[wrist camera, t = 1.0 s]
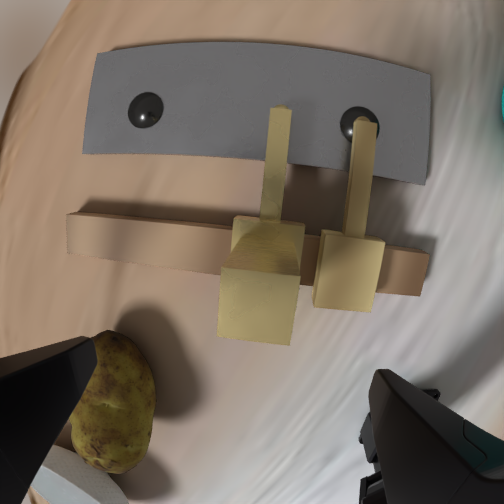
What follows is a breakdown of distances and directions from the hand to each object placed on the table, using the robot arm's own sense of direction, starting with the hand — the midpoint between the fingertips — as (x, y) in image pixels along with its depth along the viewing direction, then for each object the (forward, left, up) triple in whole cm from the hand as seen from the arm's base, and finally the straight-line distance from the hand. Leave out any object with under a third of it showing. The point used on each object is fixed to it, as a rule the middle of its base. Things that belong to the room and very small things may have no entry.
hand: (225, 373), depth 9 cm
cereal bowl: (+20, +33, -13) cm, 41 cm away
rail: (+1, -4, -13) cm, 14 cm away
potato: (+10, +13, -13) cm, 22 cm away
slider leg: (-1, -4, -12) cm, 12 cm away
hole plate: (+1, -11, -13) cm, 17 cm away
